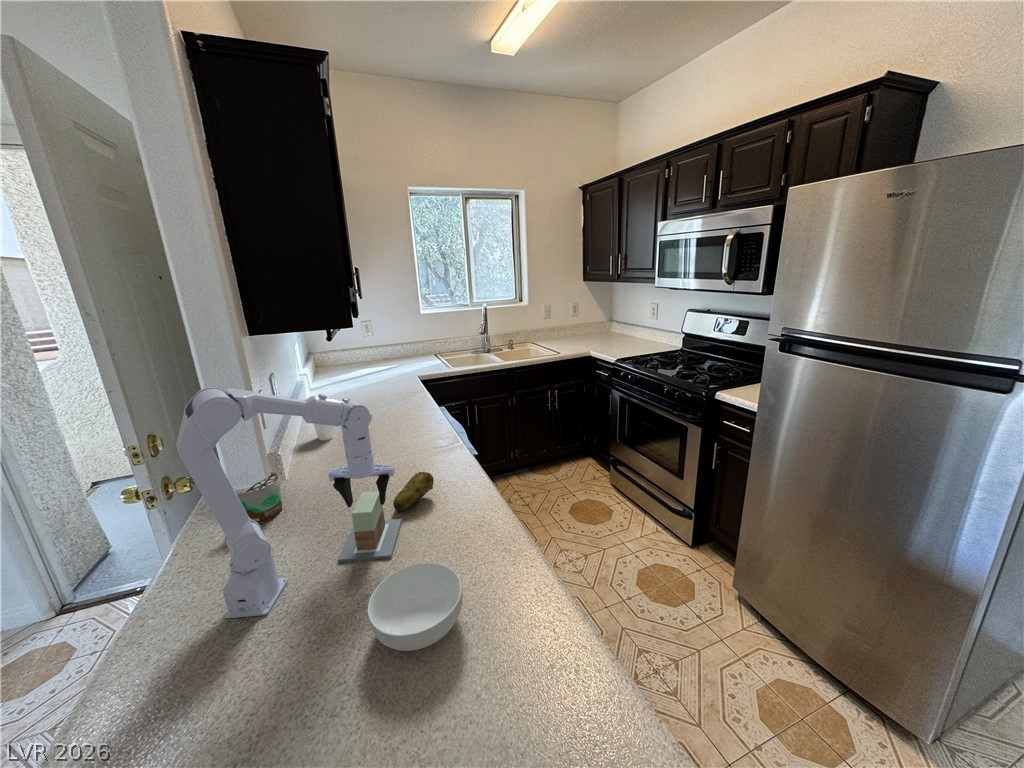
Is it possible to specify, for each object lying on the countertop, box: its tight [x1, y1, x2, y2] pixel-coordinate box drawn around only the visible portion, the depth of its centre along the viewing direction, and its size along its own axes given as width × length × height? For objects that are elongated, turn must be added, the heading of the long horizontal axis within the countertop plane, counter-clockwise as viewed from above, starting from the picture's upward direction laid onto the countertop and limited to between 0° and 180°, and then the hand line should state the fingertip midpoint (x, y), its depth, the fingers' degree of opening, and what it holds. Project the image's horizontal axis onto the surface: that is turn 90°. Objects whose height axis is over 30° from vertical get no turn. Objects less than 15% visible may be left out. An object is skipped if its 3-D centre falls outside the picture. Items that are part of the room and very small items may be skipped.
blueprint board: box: [337, 518, 403, 563], centre depth 98 cm, size 14×12×1 cm
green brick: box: [351, 490, 384, 532], centre depth 96 cm, size 9×4×5 cm, turn 5°
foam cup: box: [313, 424, 336, 441], centre depth 160 cm, size 10×9×13 cm
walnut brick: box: [354, 508, 386, 551], centre depth 97 cm, size 9×4×5 cm, turn 4°
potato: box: [392, 471, 435, 512], centre depth 113 cm, size 8×13×8 cm, turn 125°
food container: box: [237, 471, 283, 524], centre depth 109 cm, size 12×6×10 cm, turn 168°
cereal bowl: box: [367, 562, 464, 652], centre depth 73 cm, size 17×17×7 cm
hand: (366, 503), depth 95 cm, fingers open, 7 cm apart
